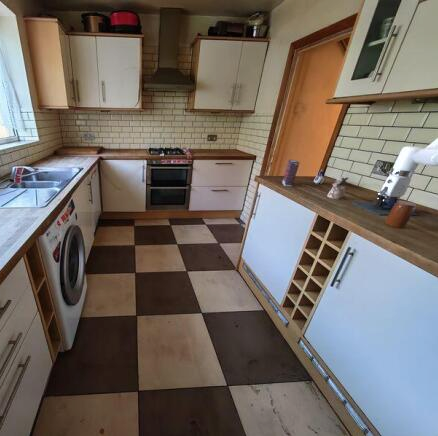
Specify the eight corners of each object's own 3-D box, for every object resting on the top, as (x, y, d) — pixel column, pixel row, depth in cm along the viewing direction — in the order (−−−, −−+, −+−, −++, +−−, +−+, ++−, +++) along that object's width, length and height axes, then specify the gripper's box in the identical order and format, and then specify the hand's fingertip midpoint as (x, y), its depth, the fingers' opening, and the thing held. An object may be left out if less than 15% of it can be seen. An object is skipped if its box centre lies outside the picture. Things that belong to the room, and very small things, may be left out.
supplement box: (292, 186, 148) (300, 162, 142) (284, 185, 150) (291, 161, 143) (289, 183, 156) (296, 159, 149) (281, 182, 157) (288, 159, 150)
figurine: (325, 194, 136) (333, 174, 131) (339, 196, 134) (347, 176, 129) (329, 198, 130) (337, 177, 125) (344, 200, 128) (353, 179, 123)
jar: (393, 221, 103) (405, 200, 99) (408, 228, 98) (422, 206, 93) (380, 221, 103) (391, 200, 99) (395, 228, 97) (407, 205, 93)
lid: (390, 207, 112) (391, 204, 111) (373, 202, 118) (375, 199, 117) (397, 205, 114) (399, 202, 114) (381, 200, 120) (382, 197, 119)
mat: (385, 203, 125) (386, 202, 125) (417, 215, 111) (418, 214, 110) (351, 203, 124) (351, 202, 124) (379, 215, 110) (379, 214, 109)
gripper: (397, 175, 104) (379, 211, 112) (424, 174, 108) (405, 209, 115) (378, 171, 111) (363, 205, 118) (405, 170, 114) (388, 203, 122)
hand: (384, 207), depth 117 cm, fingers closed on lid, 6 cm apart
